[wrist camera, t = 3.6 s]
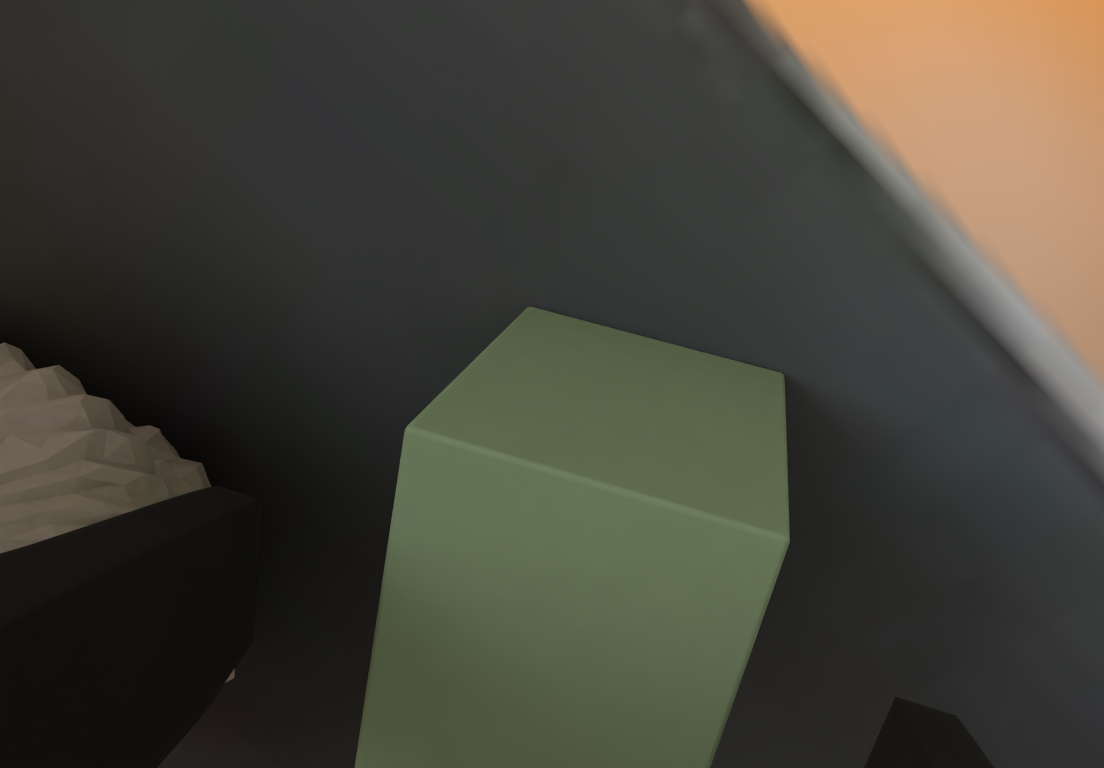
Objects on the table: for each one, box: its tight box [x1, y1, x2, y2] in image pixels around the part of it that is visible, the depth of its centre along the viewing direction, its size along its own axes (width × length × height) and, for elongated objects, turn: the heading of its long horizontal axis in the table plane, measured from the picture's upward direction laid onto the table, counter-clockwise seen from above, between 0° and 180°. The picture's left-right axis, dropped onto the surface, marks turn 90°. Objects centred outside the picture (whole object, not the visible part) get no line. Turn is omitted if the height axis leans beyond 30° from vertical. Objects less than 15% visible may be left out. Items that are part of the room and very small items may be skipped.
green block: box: [355, 307, 790, 768], centre depth 12 cm, size 5×4×5 cm
